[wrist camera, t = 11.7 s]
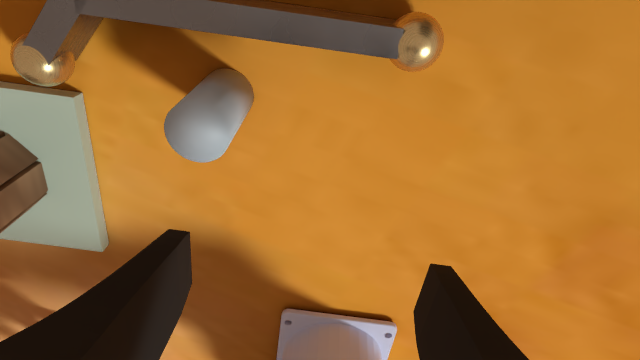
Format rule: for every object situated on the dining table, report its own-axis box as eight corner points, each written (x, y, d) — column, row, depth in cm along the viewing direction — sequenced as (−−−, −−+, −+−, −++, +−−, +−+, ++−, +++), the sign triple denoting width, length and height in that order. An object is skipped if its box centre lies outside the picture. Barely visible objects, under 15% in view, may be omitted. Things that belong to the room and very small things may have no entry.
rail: (412, 123, 20) (421, 147, 18) (45, 72, 20) (4, 89, 18) (442, 7, 18) (458, 16, 15) (17, -56, 17) (-36, -56, 15)
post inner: (252, 121, 21) (228, 166, 17) (202, 114, 21) (166, 157, 16) (254, 72, 20) (230, 107, 15) (202, 64, 19) (162, 97, 15)
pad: (108, 243, 25) (102, 252, 25) (-50, 223, 25) (-61, 230, 25) (82, 92, 20) (73, 97, 20) (-116, 65, 20) (-132, 69, 20)
